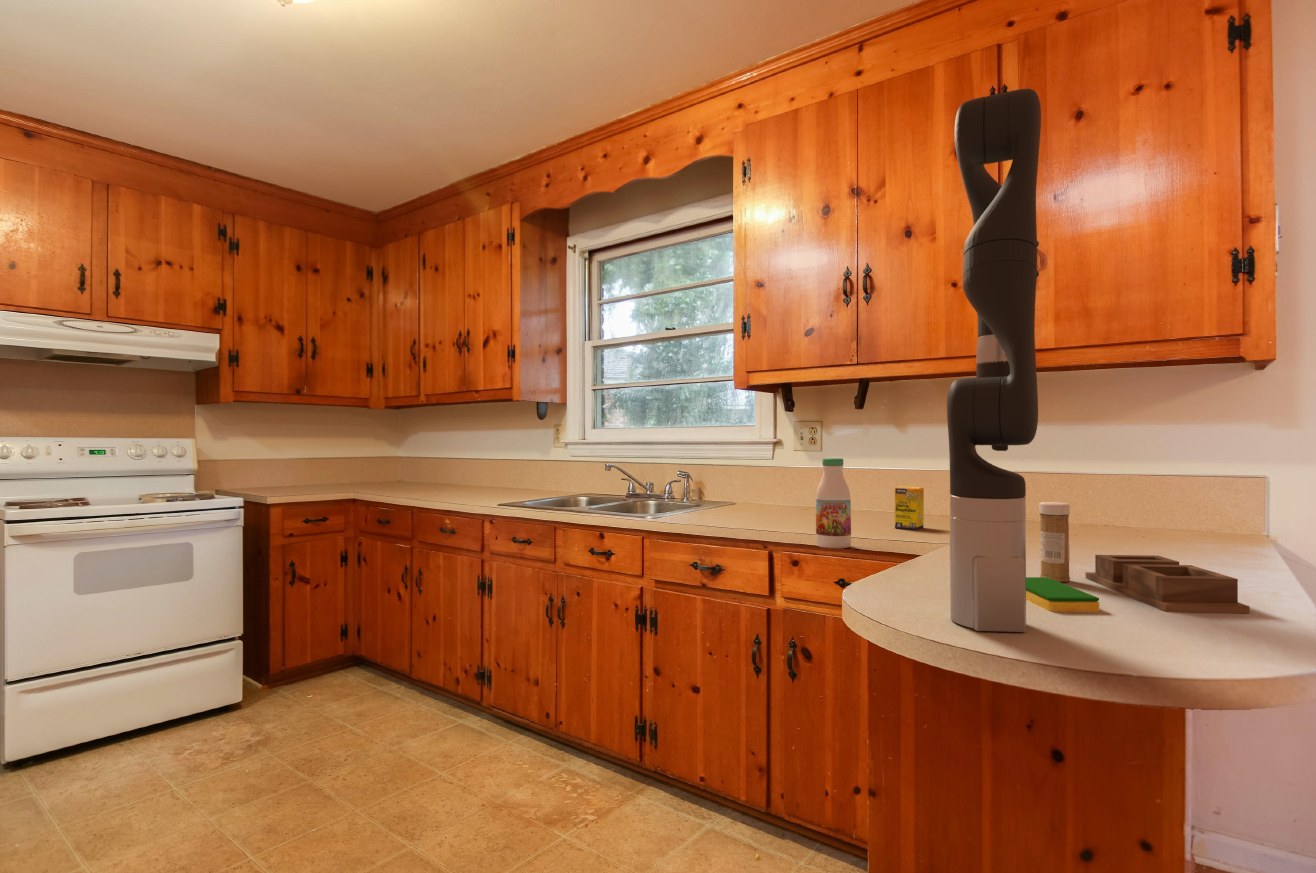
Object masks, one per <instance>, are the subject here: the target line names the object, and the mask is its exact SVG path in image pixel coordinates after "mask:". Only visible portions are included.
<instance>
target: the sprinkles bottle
mask: <svg viewBox="0 0 1316 873" xmlns="http://www.w3.org/2000/svg"><path fill="white" fill-rule="evenodd" d="M1070 507H1071V506H1070V503H1068V502H1061V501H1042V502H1039V504H1038V513H1039V516H1040V523H1039V525H1040V528H1039V529H1040V530H1039V542H1040V543H1039V545H1040V547H1039V551H1040V552H1039V554H1040V555H1039V558H1040V575H1039V576H1040V577H1048V578H1050V579H1053V580H1055V581H1058V582H1060V583H1067V582H1069V581H1070V580H1071V577H1070V560H1071V559H1070V530H1069V529H1070V528H1069V526H1070V525H1069V517H1070V514H1071V512H1070V511H1071V508H1070Z"/></svg>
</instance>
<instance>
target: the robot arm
mask: <svg viewBox="0 0 1316 873" xmlns="http://www.w3.org/2000/svg"><path fill="white" fill-rule="evenodd" d="M1038 95H1039V94H1038V93H1037V92H1036V91H1035V90H1034V89H1032V88H1020V89H1014V90H1009V91H1005V92H1000V93H996V94H995V93H994V94H991V95H986V96H982V97H977V98H972V99H970V100H967V101H964V102H962V104H960V106H959V107H958V108H957V111H956V116H955V121H954V146H955V154H956V158H957V163H958V166H959V170H960V174H961V178H962V182H963V187H964V190H965V194H966V196H967V199H968V200H967V201H968V202H969V206H970V210H971V214H972V221H973V227H972V228H971V230H970V231H969V234H968V236H967V237H966V240H965V242H964V247H963V255H962V256H963V264H962V270H963V271H962V288H963V293H964V295H965V297H966V299H967V300H968V302H969V304H970V305H971V306H972V308H973V309H974V310H975V312H976V316H977V343H976V355H975V357H976V361H975V362H976V363H975V364H976V370H975V371H976V374H975V375H976V377H968V378H967V377H966V378H958V379H955V380H954V381H952V383H951V384H950V386H949V389H948V392H947V395H946V396H947V398H946V399H947V400H946V422H947V432H948V434H947V435H948V448H949V449H948V450H949V510H950V511H949V550H950V551H949V552H950V553H949V554H950V555H949V558H950V559H949V561H950V562H949V567H950V568H949V569H950V570H949V575H950V578H949V580H950V581H949V582H950V584H949V585H950V588H949V589H950V620H951V621H952V622H954V623H956V624H958V625H961V626H964V627H967V628H971V629H973V630H974V631H976V632H977V631H978V632H1011V633H1015V632H1016V633H1025V632H1026V628H1027V600H1026V577H1027V576H1026V575H1027V570H1026V569H1027V547H1026V545H1027V544H1026V542H1027V539H1026V538H1027V537H1026V532H1027V531H1026V530H1027V529H1026V528H1027V527H1026V526H1027V525H1026V524H1027V523H1026V519H1027V514H1026V513H1027V512H1026V511H1027V508H1026V506H1027V502H1026V500H1027V499H1026V498H1027V497H1026V495H1027V493H1026V491H1027V490H1026V485H1027V484H1026V479H1025V477H1024V476H1022V475H1021V474H1019V473H1018V472H1017V473H1016V472H1015V471H1011V470H1008V469H1004V468H1002V467H999V466H996V465H994V464H992V463H990V462H988V461H987V460H985V459H984V458H983V457H982V456H980V455H979V453H978V452H977V448H976V446H991V449H992V450H993V451H996V452H1006V451H1008V449H1009V446H1024V445H1029V444H1031V443H1032V442H1033V441H1034V439H1035V437H1036V434H1037V430H1038V423H1039V398H1038V397H1039V396H1038V378H1037V376H1038V375H1037V359H1036V341H1035V326H1036V325H1035V320H1036V318H1035V317H1036V316H1035V315H1036V295H1037V294H1036V293H1037V279H1038V229H1037V228H1038V226H1037V183H1038V182H1037V181H1038V171H1039V167H1038V166H1039V159H1040V158H1039V155H1040V144H1041V143H1040V142H1041V131H1042V130H1041V129H1042V128H1041V127H1042V107H1041V100H1040V97H1039V96H1038ZM1008 161H1011V164H1010V167H1009V170H1008V173H1007V175H1006V177H1005V179H1004V182H1003V183H1002V185H1001V184H1000V183H999V182H998V181H997V180H995V179H994V177H993V176H992V175H991V174H990V173H989V172H988V170H987V169H986V167H985V165H989V164H995V163H1001V162H1008Z"/></svg>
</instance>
